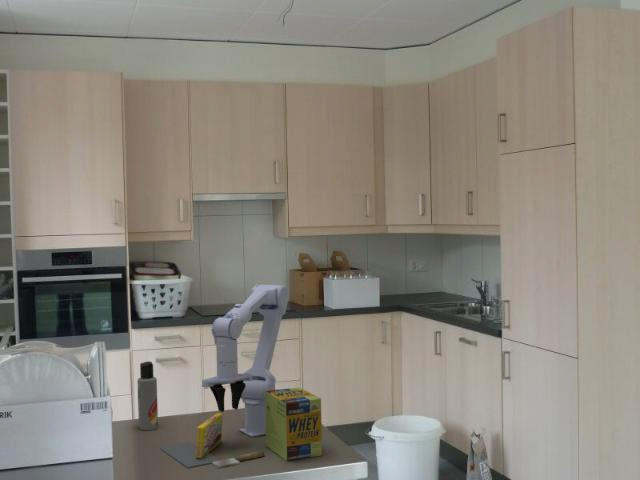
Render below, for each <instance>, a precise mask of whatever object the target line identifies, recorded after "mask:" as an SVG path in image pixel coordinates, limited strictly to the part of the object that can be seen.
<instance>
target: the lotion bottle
mask: <svg viewBox="0 0 640 480" xmlns="http://www.w3.org/2000/svg"><path fill="white" fill-rule="evenodd" d="M139 368H140V369H139V371H140V372H139V373H140V375H139V376H140V377H138V378H137V405H138V407H137V410H138V411H137V413H138V416H137V417H138V429H139V430H141V431H151V430H152V431H153V430H157V429H158V427H159V413H158V412H159V409H158V382H157V381H158V379H157V377H155V376H154V363H153V362H152V361H143V362H141V363H140V364H139Z"/></svg>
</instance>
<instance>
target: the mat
mask: <svg viewBox="0 0 640 480" xmlns="http://www.w3.org/2000/svg"><path fill="white" fill-rule="evenodd" d="M159 450H161V451H163V452H164V453H165V454H167V455H168V456H169V457H171V458H173V459H174V460H175V461H176V462H178V463H180V464H181V465H183V467H185V468H187V469H192V468H196V467H201V466H206V465H211V464H212V462H216V461H220V459H218V458H217V457H216V456H213V454H210V452H208V453H207V454H206V455H205V456H204V457H202V458H196V444H194V443H193V442H191V441H186V442H181V443H175V444H170V445H165V446H160V447H159ZM212 465H213V464H212Z"/></svg>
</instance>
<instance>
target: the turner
mask: <svg viewBox="0 0 640 480" xmlns="http://www.w3.org/2000/svg"><path fill="white" fill-rule="evenodd" d="M261 457H265V451H264V450H261V451H260V450H259V451H255V452H252V453H246V454H245V453H244V454H241V455H237V456H235V457H231V458H227V459H226V458H225V459H221V460H220V459H219V460H220V461H216V462H212V465H213V466H214V467H216V468H217V469H221V468H222V469H223V468H227V467H231V466H232V467H233V466H236V465H240V464H241V462H242V461H247V460H252V459H256V458H261Z"/></svg>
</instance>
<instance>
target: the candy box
mask: <svg viewBox="0 0 640 480" xmlns="http://www.w3.org/2000/svg"><path fill="white" fill-rule="evenodd" d="M223 416H224V415H223V413H221V412H220V413H218V412H217V413H215V414H214V415H212V416H211V417H210V418H208V419H206V420H205V421H204V422H203V423H201V424H200V425H199V426H197V428H196V443H195V445H196V458H202V457H204V456H205V455H206V454H207V453H210V452H211V451H212V450H214V449H215V448H216V447H217V446H218V445H219V444H220V443H221V442H222V437H223Z"/></svg>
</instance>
